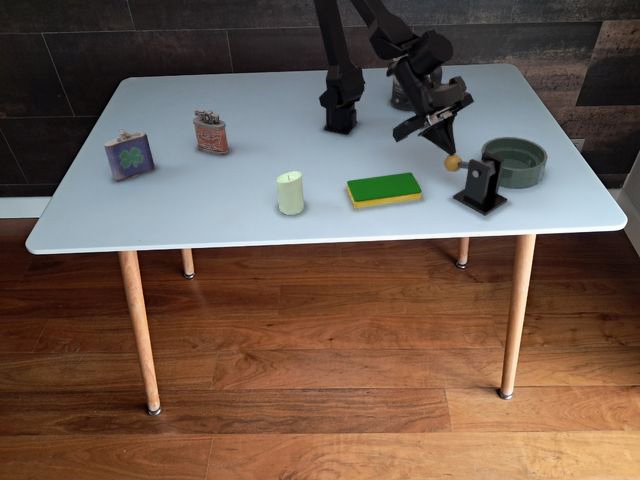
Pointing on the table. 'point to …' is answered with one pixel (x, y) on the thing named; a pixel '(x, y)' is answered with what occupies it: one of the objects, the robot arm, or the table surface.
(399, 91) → the milk frother
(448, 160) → the tap lever
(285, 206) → the candle
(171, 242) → the table surface
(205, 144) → the lighter
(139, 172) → the flask
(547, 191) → the table surface
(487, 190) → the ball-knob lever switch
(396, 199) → the dish sponge
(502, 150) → the basin
